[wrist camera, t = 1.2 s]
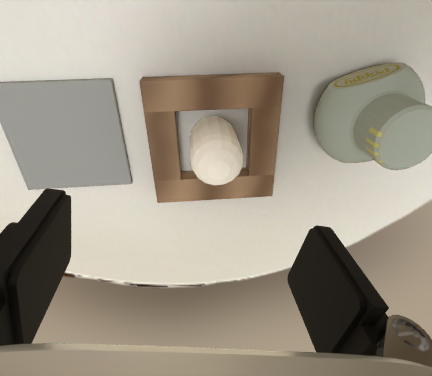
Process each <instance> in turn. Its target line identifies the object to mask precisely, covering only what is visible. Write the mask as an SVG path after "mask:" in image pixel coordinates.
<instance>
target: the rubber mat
mask: <svg viewBox="0 0 432 376" xmlns="http://www.w3.org/2000/svg"><path fill="white" fill-rule="evenodd" d="M0 123H1V125H2V128H3V130H4V132H5V135H6V137H7V140H8V142H9V144H10V147H11V149H12V152H13V154H14V156H15V159H16V161H17V164H18V166H19V168H20V171H21V173H22V176H23V178H24V180H25V183H26V185H27V188H28V190H32V189H47V188H49V189H50V188H68V187H86V186H104V185H122V184H132V177H131V172H130V167H129V162H128V157H127V152H126V147H125V141H124V136H123V131H122V126H121V121H120V116H119V111H118V105H117V100H116V95H115V90H114V85H113V80H112V78H107V79H78V80H49V81H20V82H0Z"/></svg>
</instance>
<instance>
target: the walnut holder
mask: <svg viewBox="0 0 432 376" xmlns="http://www.w3.org/2000/svg"><path fill="white" fill-rule="evenodd" d="M283 80H284V76H283V75H281V74H280V73H252V74H223V75H194V76H165V77H142V79H141V80H140V88H141V95H142V102H143V108H144V115H145V122H146V128H147V135H148V142H149V149H150V155H151V162H152V169H153V175H154V182H155V189H156V196H157V202H158V203H163V202H179V201H196V200H213V199H230V198H247V197H264V196H272V193H273V183H274V172H275V162H276V152H277V142H278V131H279V121H280V111H281V101H282V91H283ZM240 108H249V111H248V136H247V161H246V168H241V170H240V173H239V175H237V176H236V177H235V178H234V179H233V180H232V181H230V182H228V183H226V184H224V185H211V184H207V183H204V182H203V181H202V180H200V179H199V178H198V177H197V176H196V174H195V172H194V171H184V172H181V167H180V156H179V145H178V134H177V123H176V112H175V111H191V110H216V109H240Z"/></svg>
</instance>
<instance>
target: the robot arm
mask: <svg viewBox="0 0 432 376" xmlns="http://www.w3.org/2000/svg"><path fill="white" fill-rule="evenodd" d="M70 258H71V196H69V195H66V193H65V191H63V190H56V189H49V188H47V189H45V190H44V191H43V193H42V194H41V195H40V196H39V198H38V199H37V200H36V201H35V203H34V204H33V205H32V206H31V207H30V209H29V210H28V211H27V212H26V214H25V215H24V216H23V217H22V219H21V220H20V221H19V222H18V223H14V222H13V223H10V224H9V225H7V226H6V228H5V229H4V230H3V231H2V232H1V233H0V376H432V339H431V338H430V336H429V335H428V334H427V333H426V331H425V330H424V329H422V328H421V327H420V326H419V325H418V324H416V323H415V322H413V321H412V320H410V319H408V318H406V317H404V316H400V315H391V316H389V317H388V316H387V315H386V313H385V312H386V311H387V310H388V308H389V307H388V306H387V305H386V303H385V302H384V300H383V299H382V298H381V296H380V295H379V294H378V292H377V291H376V289H375V288H374V287H373V285H372V284H371V282H370V281H369V280H368V278H367V277H366V276H365V274H364V273H363V271H362V270H361V269H360V267H359V266H358V265H357V263H356V262H355V260H354V259H353V258H352V256H351V255H350V254H349V252H348V251H347V249H346V248H345V247H344V245H343V244H342V242H341V241H340V240H339V238H338V237H337V236H336V234H335V233H334V231H333V230H332V229H331V228H330V227H324V226H315V227H314V228H312V229H310V230H309V232H308V234H307V236H306V238H305V241H304V243H303V245H302V247H301V249H300V251H299V253H298V255H297V257H296V259H295V261H294V264H293V266H292V268H291V270H290V272H289V274H288V284H289V286H290V289H291V291H292V294H293V296H294V298H295V301H296V304H297V306H298V308H299V311H300V313H301V316H302V318H303V321H304V323H305V326H306V328H307V330H308V333H309V335H310V338H311V340H312V343H313V345H314V347H315V350H316V353H315V352H293V351H271V350H248V349H224V348H197V347H171V346H143V345H114V344H65V343H63V344H62V343H61V344H60V343H42V344H31V343H32V341H33V339H34V337H35V335H36V332H37V330H38V328H39V326H40V324H41V322H42V320H43V318H44V315H45V313H46V311H47V309H48V306H49V305H50V302H51V300H52V298H53V296H54V294H55V292H56V290H57V287H58V285H59V283H60V281H61V279H62V277H63V275H64V272H65V270H66V268H67V266H68V264H69V261H70Z"/></svg>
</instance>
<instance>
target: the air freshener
mask: <svg viewBox="0 0 432 376" xmlns="http://www.w3.org/2000/svg"><path fill="white" fill-rule="evenodd" d="M314 129H315V135H316V138H317V141H318V142H319V144H320V146H321V148H322V149H323V150H324V151H325V152H326V153H327V154H328V155H329V156H331V157H332V158H333V159H335V160H338V161H340V162H344V163H359V162H366V161H371V160H375V161H376V162H377V163H379V164H380V165H381V166H383V167H385V168H387V169H390V170H402V169H407V168H410V167H412V166H414V165H416V164H418V163H420V162H422V161H423V160H425V159H426V158H427V157H428V156H429V155H430V154H431V153H432V107H431V106H429V105H427V104H425V91H424V87H423V84H422V81H421V80H420V78H419V76H418V75H417V73H416V72H415V71H414V70H413V69H412V68H411V67H409V66H407V65H406V64H404V63H389V64H383V65H378V66H373V67H369V68H365V69H362V70H359V71H355V72H353V73H350V74H347V75H345V76H342V77H340V78H338V79H336V80H334V81H333V82H331V83H330V84H329V85H328V87H327V88H326V89H325V91H324V92H323V94H322V96H321V98H320V100H319V102H318V105H317V107H316V111H315V116H314Z"/></svg>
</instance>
